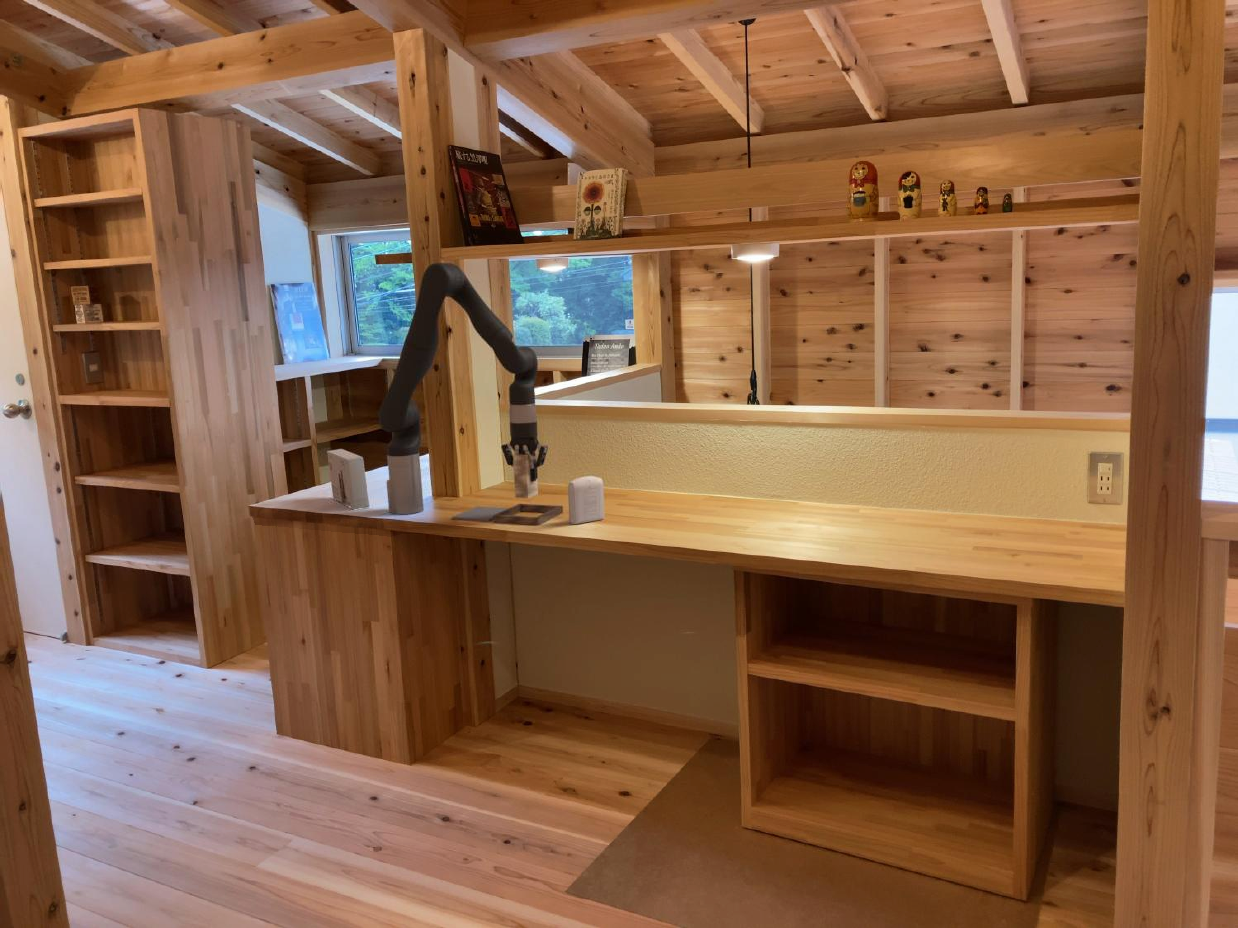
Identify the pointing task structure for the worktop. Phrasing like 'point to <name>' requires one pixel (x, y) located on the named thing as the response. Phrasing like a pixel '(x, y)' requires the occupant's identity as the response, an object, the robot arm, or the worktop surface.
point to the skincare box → (348, 478)
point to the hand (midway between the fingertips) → (526, 480)
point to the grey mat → (479, 513)
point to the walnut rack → (507, 517)
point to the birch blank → (523, 477)
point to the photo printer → (586, 499)
